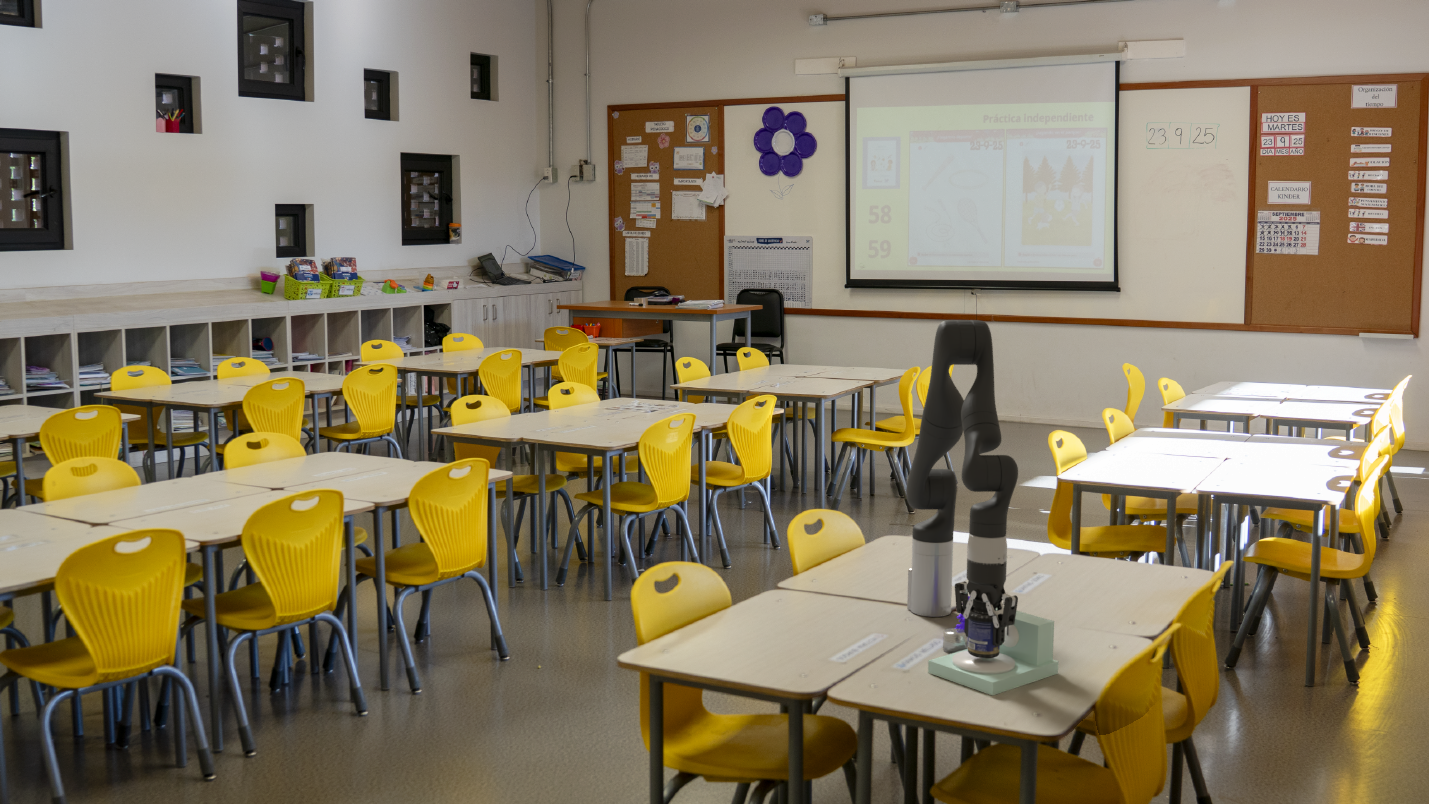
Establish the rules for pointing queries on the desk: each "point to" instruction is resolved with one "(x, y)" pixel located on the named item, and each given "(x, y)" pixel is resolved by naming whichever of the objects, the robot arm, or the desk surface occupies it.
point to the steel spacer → (954, 640)
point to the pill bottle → (981, 632)
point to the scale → (1005, 659)
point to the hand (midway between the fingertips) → (984, 640)
